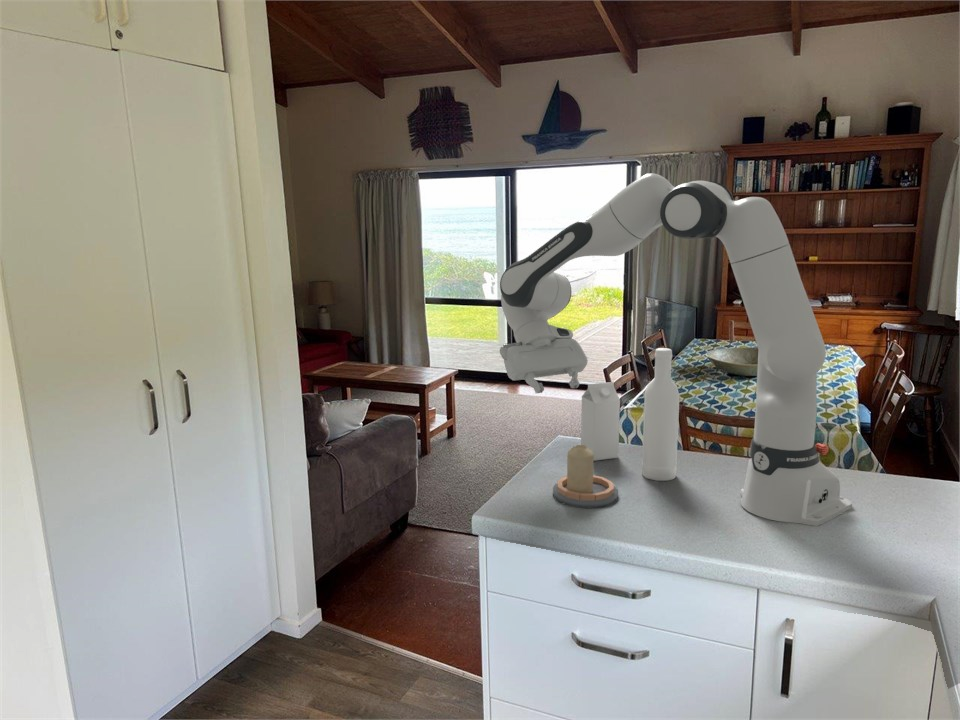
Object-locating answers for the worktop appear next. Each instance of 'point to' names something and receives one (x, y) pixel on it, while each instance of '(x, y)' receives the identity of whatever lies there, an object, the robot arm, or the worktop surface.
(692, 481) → the worktop surface
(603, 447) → the milk carton
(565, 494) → the tray
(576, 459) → the candle
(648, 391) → the bottle
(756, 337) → the robot arm
